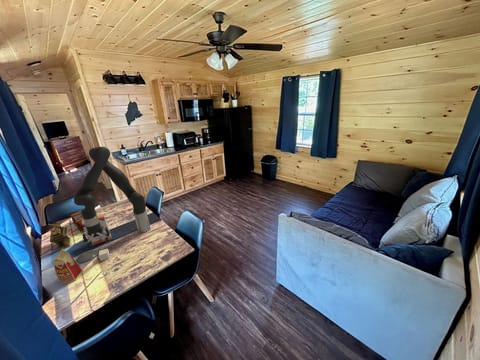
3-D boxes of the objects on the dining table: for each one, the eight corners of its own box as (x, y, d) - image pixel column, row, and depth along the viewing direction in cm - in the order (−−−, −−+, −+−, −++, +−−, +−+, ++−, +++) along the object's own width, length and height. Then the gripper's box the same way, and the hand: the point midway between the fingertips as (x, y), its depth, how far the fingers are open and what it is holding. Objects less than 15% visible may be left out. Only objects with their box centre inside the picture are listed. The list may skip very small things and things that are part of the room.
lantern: (90, 218, 170) (80, 208, 188) (77, 224, 163) (68, 212, 181) (94, 228, 173) (84, 217, 192) (81, 234, 167) (71, 222, 185)
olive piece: (56, 241, 159) (46, 220, 151) (71, 236, 164) (62, 215, 157) (54, 255, 144) (42, 232, 136) (71, 249, 149) (61, 227, 142)
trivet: (98, 248, 149) (98, 247, 149) (97, 258, 139) (96, 257, 139) (78, 254, 144) (78, 253, 144) (75, 265, 134) (75, 264, 134)
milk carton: (68, 272, 129) (56, 247, 121) (83, 270, 129) (72, 245, 122) (57, 284, 120) (44, 257, 113) (74, 282, 121) (61, 256, 113)
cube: (109, 253, 143) (107, 248, 141) (109, 258, 139) (107, 252, 137) (101, 256, 141) (99, 250, 139) (100, 261, 137) (98, 255, 135)
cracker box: (90, 246, 151) (81, 223, 143) (90, 242, 156) (81, 219, 148) (111, 239, 158) (104, 216, 150) (111, 235, 163) (103, 213, 155)
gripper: (105, 217, 136) (112, 237, 141) (79, 223, 129) (87, 243, 135) (104, 222, 129) (111, 243, 135) (77, 229, 123) (85, 250, 129)
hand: (99, 243), depth 135 cm, fingers open, 8 cm apart
